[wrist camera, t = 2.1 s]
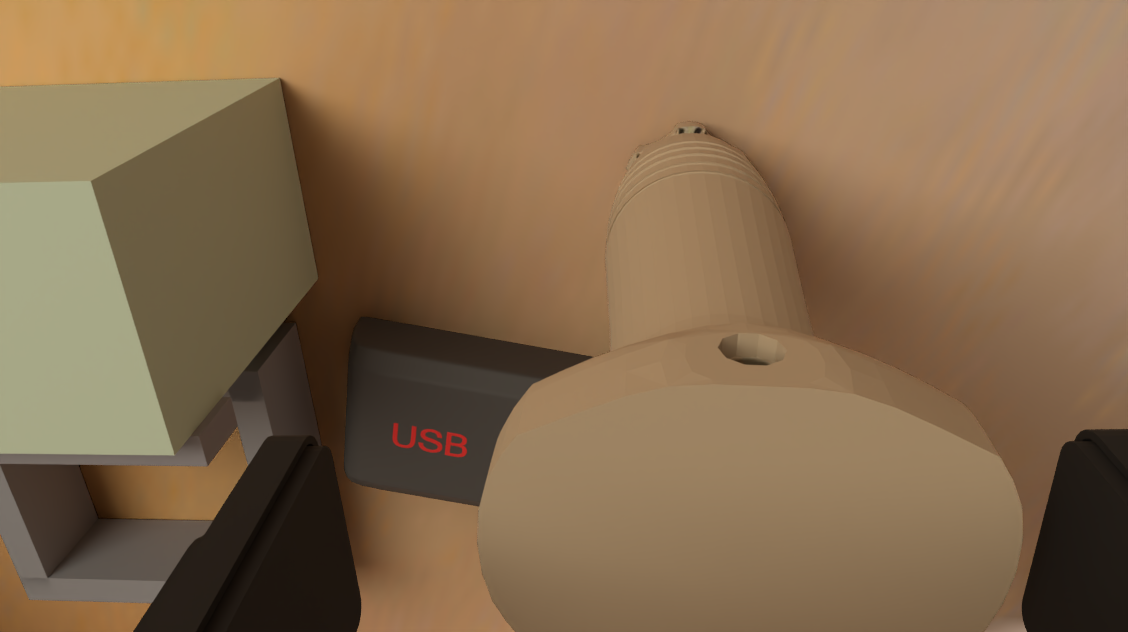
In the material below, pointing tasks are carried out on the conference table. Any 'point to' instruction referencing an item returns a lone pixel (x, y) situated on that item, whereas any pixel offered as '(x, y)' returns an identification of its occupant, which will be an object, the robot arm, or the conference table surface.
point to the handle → (736, 446)
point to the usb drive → (433, 405)
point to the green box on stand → (140, 310)
